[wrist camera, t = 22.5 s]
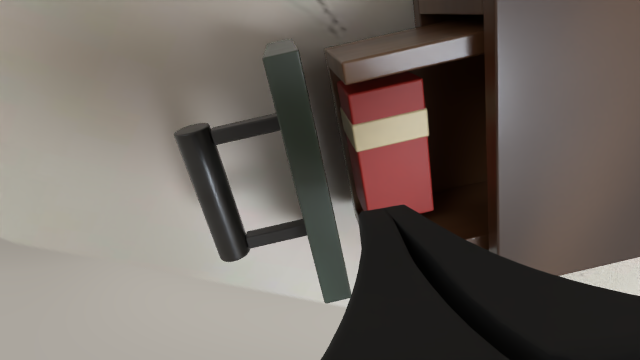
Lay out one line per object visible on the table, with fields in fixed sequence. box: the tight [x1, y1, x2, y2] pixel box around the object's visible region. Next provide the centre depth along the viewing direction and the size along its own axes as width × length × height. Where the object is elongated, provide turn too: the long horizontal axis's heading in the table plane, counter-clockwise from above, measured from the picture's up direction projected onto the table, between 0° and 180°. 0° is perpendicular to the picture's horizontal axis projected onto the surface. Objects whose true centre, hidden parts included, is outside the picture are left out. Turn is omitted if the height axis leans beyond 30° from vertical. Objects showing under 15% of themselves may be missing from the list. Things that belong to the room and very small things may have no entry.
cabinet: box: [413, 0, 640, 276], centre depth 17 cm, size 14×12×8 cm
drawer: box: [174, 15, 489, 303], centre depth 17 cm, size 17×10×6 cm, turn 102°
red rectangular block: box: [337, 71, 434, 214], centre depth 17 cm, size 6×3×3 cm, turn 11°
